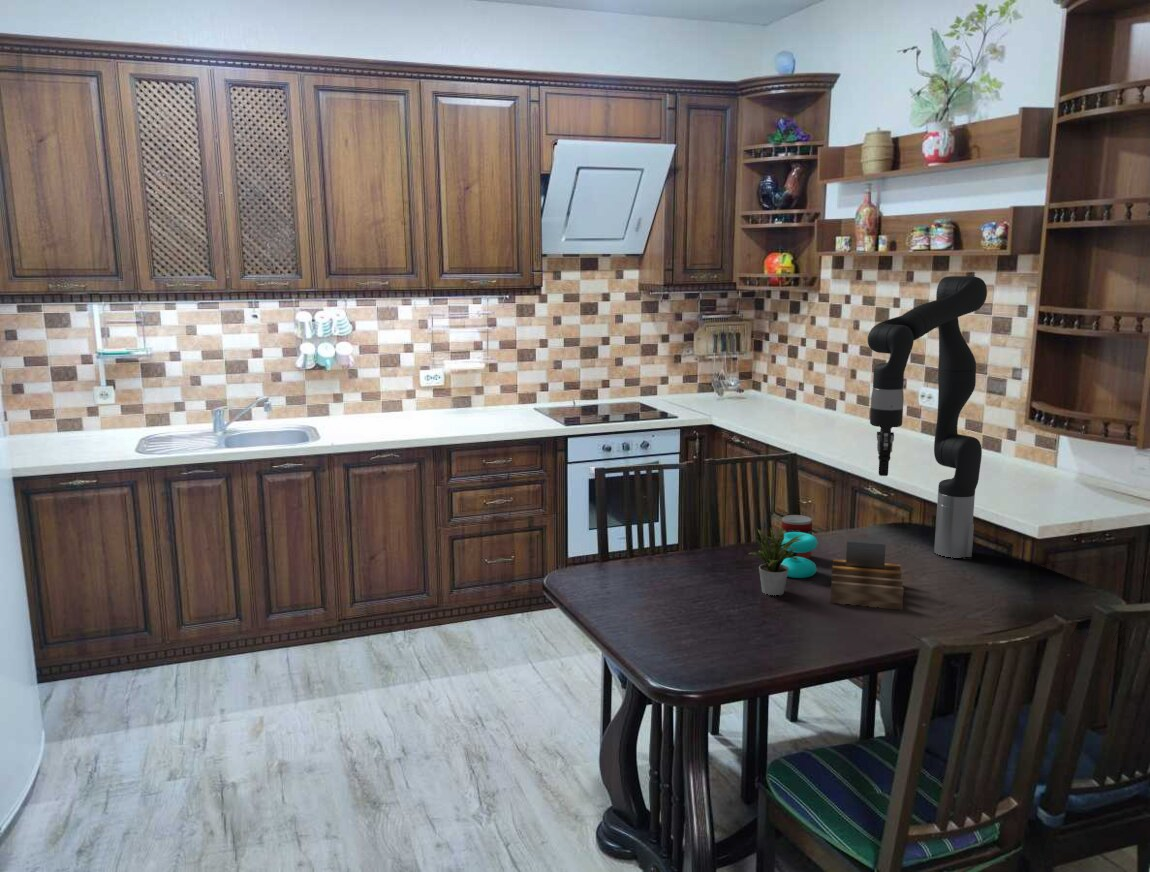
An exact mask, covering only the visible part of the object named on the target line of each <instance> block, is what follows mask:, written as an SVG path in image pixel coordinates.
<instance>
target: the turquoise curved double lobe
mask: <svg viewBox="0 0 1150 872" xmlns="http://www.w3.org/2000/svg"><path fill="white" fill-rule="evenodd" d="M801 535H804V536H801ZM797 536H801V537H798V538H797V539H800V541H797V542H793V543H792V544H791V545H790V546H792V547H788V549H787V550H788V551H790V550H793V549H796V550H794V551H792V552H795V553H805V552H810V551H811V552H812V551H813V550H815V549H816V548H817V547H818V543H819V542H818V539H817V538H816V536H814V535H813V534H812V535H811V534H807V533H803V532H788V533H784V540H783V542H782V544H785V543H787V542H789V541H790V540H791V539H793V538H795V537H797ZM795 540H796V539H795ZM782 544H781V545H782ZM784 546H785V545H784ZM784 546H782V547H781V548H783V547H784ZM781 548H780V549H781ZM785 549H786V548H785ZM797 559H798V560H796V559H793V558H792V559H791V558H786V559H784V561H783V562H782V563H781V564H782V565H783V564H784V563H785V564H784V565H785V566H787V567H788V574H787V578H794V579H806V578H810V577H813V576H814V575H815V574H816V573H817V571H818V570H817V569H818V567H817V565H816V564H815V562H814V561H812V560H811V559H807V558H803V557H797ZM788 560H789V561H788Z"/></svg>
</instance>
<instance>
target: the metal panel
mask: <svg viewBox="0 0 1150 872" xmlns="http://www.w3.org/2000/svg"><path fill="white" fill-rule="evenodd" d="M886 545H887V544H886V541H884V540H883V541H881V540H870V539H868V540H867V539H854V538H852V539H851V538H847V539H846V554H845V555H846V557H845V560H846V567H856V568H868V569H880V570H884V564H885V562H886Z"/></svg>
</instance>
